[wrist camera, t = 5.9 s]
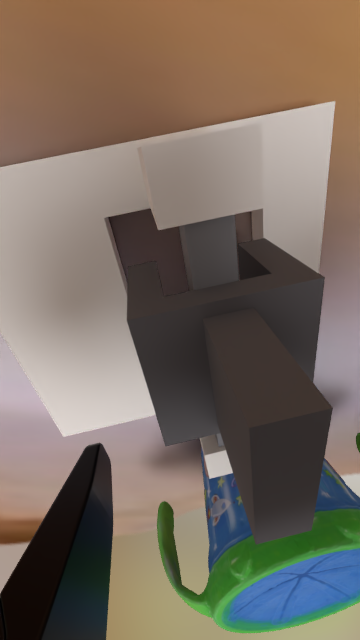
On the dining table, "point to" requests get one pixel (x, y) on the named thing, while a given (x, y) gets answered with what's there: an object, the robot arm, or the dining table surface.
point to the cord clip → (242, 377)
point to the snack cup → (272, 559)
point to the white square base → (168, 211)
